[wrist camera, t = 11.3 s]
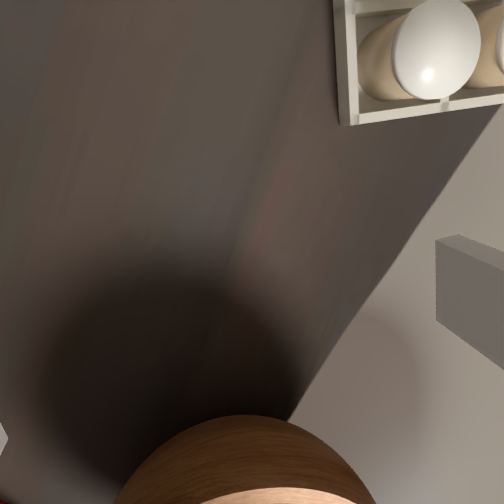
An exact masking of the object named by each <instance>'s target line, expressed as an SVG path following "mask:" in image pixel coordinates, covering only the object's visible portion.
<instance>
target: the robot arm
mask: <svg viewBox="0 0 504 504" xmlns="http://www.w3.org/2000/svg"><path fill="white" fill-rule="evenodd" d="M435 243H436V320H437V321H438V322H439V323H441V324H442V325H444V326H445V327H446V328H448V329H449V330H450V331H452V332H453V333H455V334H456V335H457V336H459V337H460V338H461V339H463V340H464V341H465V342H467V343H468V344H469V345H471V346H472V347H473V348H475V349H476V350H478V351H479V352H480V353H482V354H483V355H484V356H486V357H487V358H489V359H490V360H491V361H493V362H494V363H495V364H497V365H498V366H499V367H501V368H502V369H503V370H504V252H501V251H499V250H497V249H494V248H492V247H489V246H487V245H484V244H481V243H479V242H476V241H474V240H471V239H468V238H466V237H464V236H461V235H454V236H450V237H446V238H442V239H438V240H435ZM7 440H8V437H7V435H6V433H5V431H4V429H3V427H2V425H1V423H0V455H1V453H2V451H3V449H4V447H5V444H6V442H7Z"/></svg>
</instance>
